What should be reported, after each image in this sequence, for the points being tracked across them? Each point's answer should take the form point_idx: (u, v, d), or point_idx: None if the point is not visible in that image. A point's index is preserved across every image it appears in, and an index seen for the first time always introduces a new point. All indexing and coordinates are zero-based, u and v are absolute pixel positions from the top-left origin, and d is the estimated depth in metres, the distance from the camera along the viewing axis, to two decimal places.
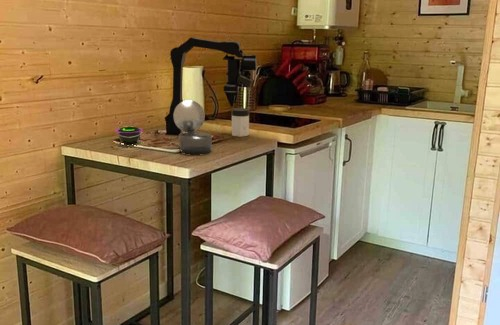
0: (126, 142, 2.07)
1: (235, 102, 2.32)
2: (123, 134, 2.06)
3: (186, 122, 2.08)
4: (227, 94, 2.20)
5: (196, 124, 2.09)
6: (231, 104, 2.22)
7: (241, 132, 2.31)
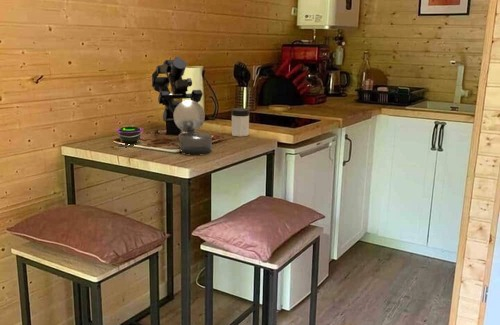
0: (126, 142, 2.08)
1: None
2: (123, 134, 2.06)
3: (186, 122, 2.08)
4: (166, 105, 2.16)
5: (196, 124, 2.09)
6: (172, 111, 2.13)
7: (241, 132, 2.31)
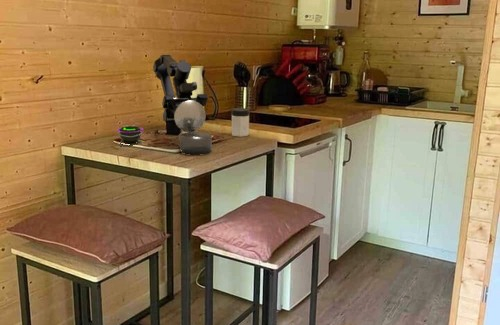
0: (127, 141, 2.08)
1: None
2: (124, 133, 2.07)
3: (187, 122, 2.07)
4: (171, 109, 2.10)
5: (196, 124, 2.09)
6: None
7: (241, 132, 2.31)
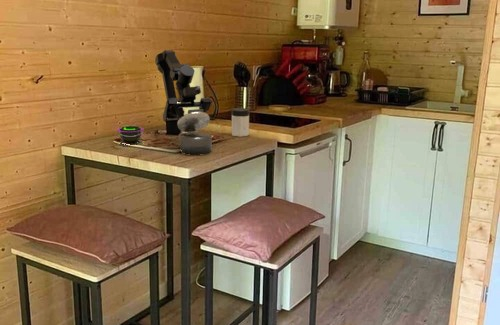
0: (127, 141, 2.09)
1: None
2: (124, 133, 2.07)
3: (189, 126, 2.05)
4: (174, 114, 2.06)
5: (198, 127, 2.07)
6: None
7: (241, 132, 2.31)
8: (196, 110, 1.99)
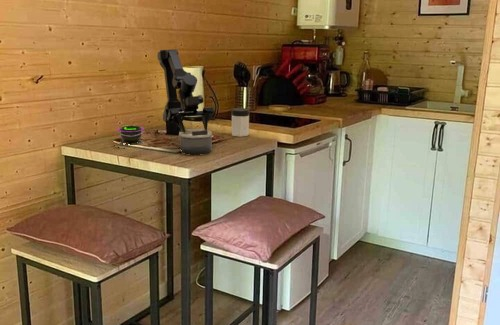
0: (128, 141, 2.09)
1: (205, 129, 2.04)
2: (125, 133, 2.08)
3: None
4: (176, 123, 2.04)
5: None
6: (182, 130, 2.01)
7: (241, 132, 2.31)
8: (200, 133, 1.97)
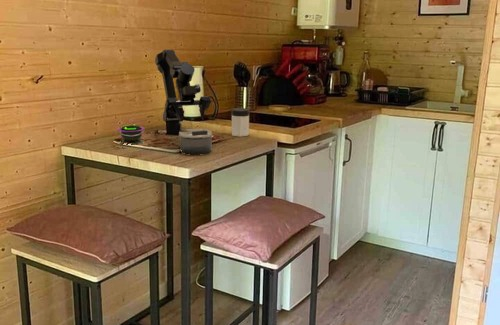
0: (128, 141, 2.10)
1: (202, 118, 2.06)
2: (125, 133, 2.08)
3: None
4: (173, 112, 2.06)
5: None
6: (179, 119, 2.03)
7: (241, 132, 2.31)
8: (200, 133, 1.97)
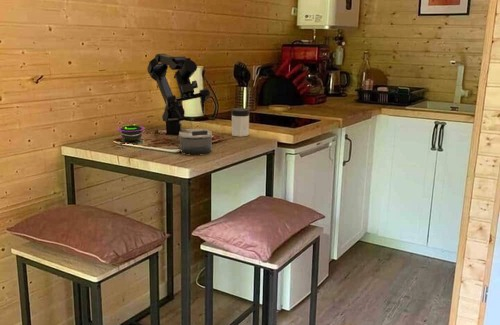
0: (128, 140, 2.10)
1: (202, 112, 2.15)
2: (125, 133, 2.08)
3: None
4: (175, 108, 2.16)
5: None
6: (180, 116, 2.14)
7: (241, 132, 2.31)
8: (200, 133, 1.97)
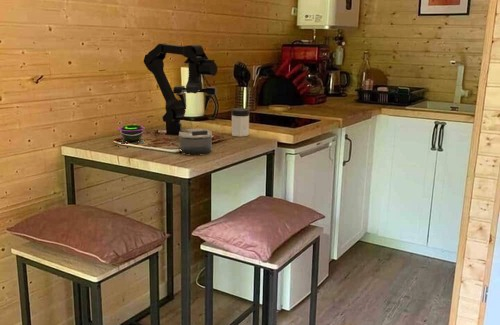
0: (129, 140, 2.10)
1: (205, 109, 2.23)
2: (126, 132, 2.09)
3: None
4: None
5: None
6: None
7: (241, 132, 2.31)
8: (200, 133, 1.97)
